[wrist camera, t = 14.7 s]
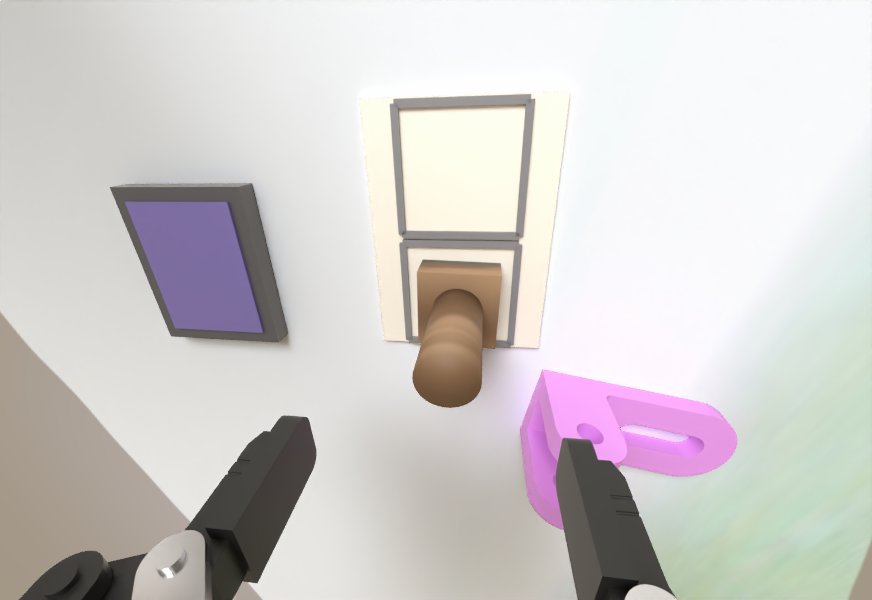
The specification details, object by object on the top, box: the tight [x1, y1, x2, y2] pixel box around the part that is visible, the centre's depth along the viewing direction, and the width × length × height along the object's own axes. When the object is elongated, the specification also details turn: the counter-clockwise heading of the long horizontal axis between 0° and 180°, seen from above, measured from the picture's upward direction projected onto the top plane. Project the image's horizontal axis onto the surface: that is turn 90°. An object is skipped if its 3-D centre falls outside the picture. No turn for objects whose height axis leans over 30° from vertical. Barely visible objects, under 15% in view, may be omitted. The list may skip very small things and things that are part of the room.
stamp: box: [413, 259, 502, 408], centre depth 18 cm, size 4×4×8 cm
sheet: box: [359, 92, 570, 348], centre depth 20 cm, size 14×10×1 cm
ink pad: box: [110, 184, 288, 342], centre depth 22 cm, size 10×8×1 cm
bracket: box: [520, 369, 737, 530], centre depth 21 cm, size 13×6×7 cm, turn 81°
